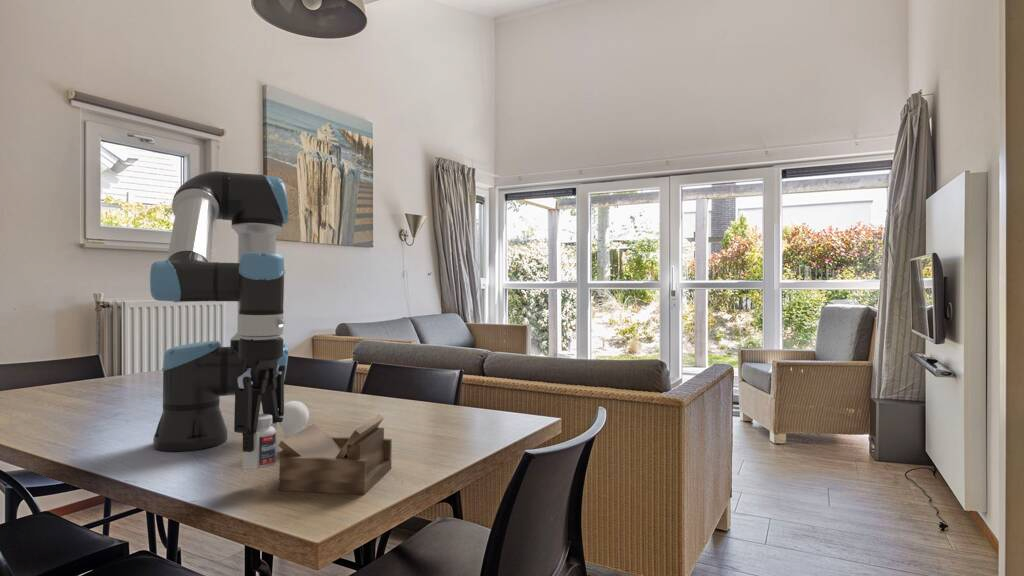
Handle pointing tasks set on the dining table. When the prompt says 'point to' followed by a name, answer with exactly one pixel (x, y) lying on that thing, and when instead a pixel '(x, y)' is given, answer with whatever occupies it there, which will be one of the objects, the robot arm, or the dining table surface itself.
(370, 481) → the wooden box with flaps
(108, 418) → the dining table surface
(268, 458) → the pill bottle
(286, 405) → the light bulb
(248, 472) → the dining table surface
